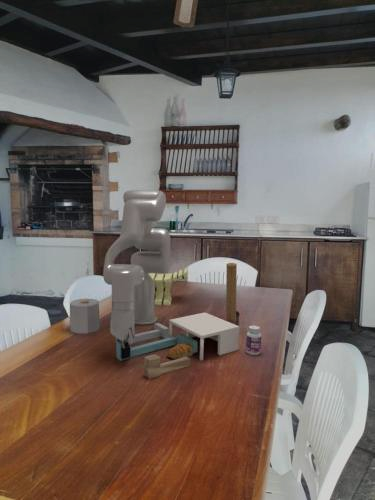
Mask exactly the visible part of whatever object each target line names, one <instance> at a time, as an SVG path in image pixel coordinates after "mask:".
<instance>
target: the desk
mask: <svg viewBox="0 0 375 500" xmlns="http://www.w3.org/2000/svg"><path fill="white" fill-rule="evenodd" d="M225 320H226V319H225ZM225 320H224V319H221V318H219V317H217V316H214V315H213V314H210V313H208V312H200V313H196V314H191V315H185V316H182V317H176V318H170V319H168V323H169V338H170V337H174V334H173V333H174V332H173V331H174V329H173V328H174V326H175V327H178V328H180V329H182V330H184V331H185V332H186V336H188V337H190V338H192V339H194V338H200V340H199V361H204V348H205V347H204V343H205V339H206V338H210V339H211V340H214V341H216V342H217V355H219V356H222V355H226V354H229V353H232V352H235V351H239V349H240V343H239V342H240V325H238V326H237V325H235V324H232V323H230V322H227V321H225Z"/></svg>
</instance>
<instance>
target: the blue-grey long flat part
mask: <svg viewBox="0 0 375 500" xmlns="http://www.w3.org/2000/svg"><path fill="white" fill-rule="evenodd" d="M169 337H170V336H169ZM127 341H128V340H127ZM127 341H125V343H126V342H127ZM184 343H189V344H190V345H191V346H192V349H193V351H194V353H193V354H195V353H198V341H197V340H195V339H194V338H190V337H188V336H187V334H183V333H182V332H181V333H177V334H176V336H173V337H170V338H166V339H164V338H163V339H159V340H155V341H152V342H147V343H143V344H141V345H137V346H133V347H132V346H131V347H130V357H129V358H125V359H122V358H121V348H122V341H121V340H120V341H116V340H115V346H116V347H115V348H116V351H115V352H116V353H115V355H116V359H117V360H118V361H120V362H121V361H125V360H129V359H131V358H133V357H137V356H140V355H145V354H149V353H152V352H154V351H158V350H162V349H165V348H169V347H174V346H176V345H179V344H184Z"/></svg>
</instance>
